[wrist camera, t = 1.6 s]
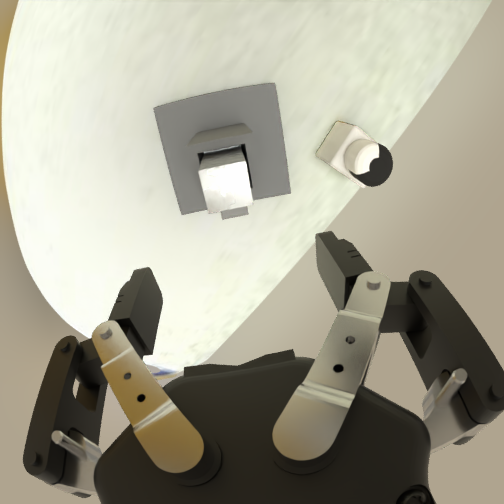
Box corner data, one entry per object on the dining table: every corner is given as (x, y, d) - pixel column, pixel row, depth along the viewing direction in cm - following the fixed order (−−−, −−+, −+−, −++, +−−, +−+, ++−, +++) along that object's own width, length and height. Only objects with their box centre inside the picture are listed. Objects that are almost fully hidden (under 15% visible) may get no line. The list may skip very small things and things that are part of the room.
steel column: (208, 139, 38) (197, 170, 22) (236, 134, 38) (246, 160, 22) (213, 165, 40) (208, 214, 24) (240, 160, 40) (254, 205, 24)
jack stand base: (155, 107, 36) (124, 112, 23) (273, 83, 36) (297, 75, 23) (182, 211, 45) (169, 257, 33) (288, 190, 45) (314, 229, 33)
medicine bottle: (367, 143, 42) (407, 160, 32) (346, 176, 45) (380, 201, 35) (336, 119, 39) (372, 129, 29) (314, 154, 42) (343, 174, 32)
